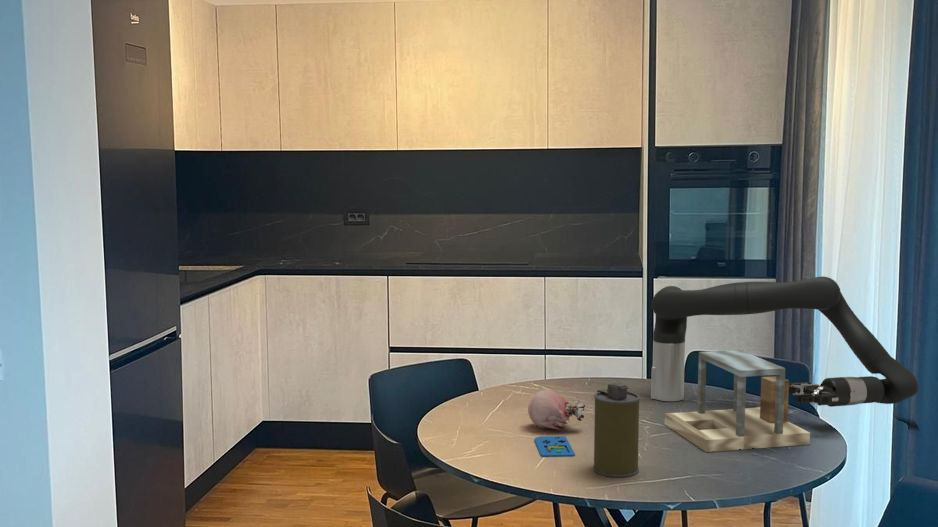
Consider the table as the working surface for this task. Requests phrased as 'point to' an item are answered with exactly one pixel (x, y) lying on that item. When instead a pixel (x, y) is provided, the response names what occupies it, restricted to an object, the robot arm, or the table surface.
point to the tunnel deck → (737, 410)
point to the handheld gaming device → (554, 446)
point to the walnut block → (771, 399)
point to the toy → (552, 410)
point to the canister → (616, 431)
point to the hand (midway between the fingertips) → (788, 395)
